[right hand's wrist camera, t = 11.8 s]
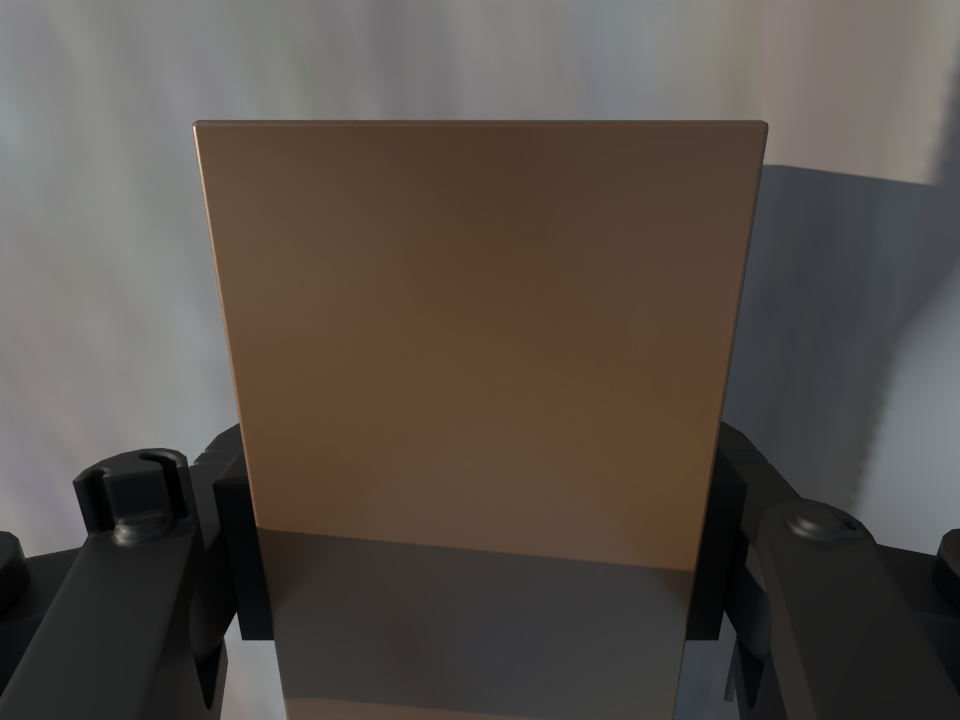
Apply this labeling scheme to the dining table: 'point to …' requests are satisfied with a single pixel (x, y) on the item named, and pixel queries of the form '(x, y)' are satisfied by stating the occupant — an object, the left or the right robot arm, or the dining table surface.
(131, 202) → the dining table surface
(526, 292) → the bar
